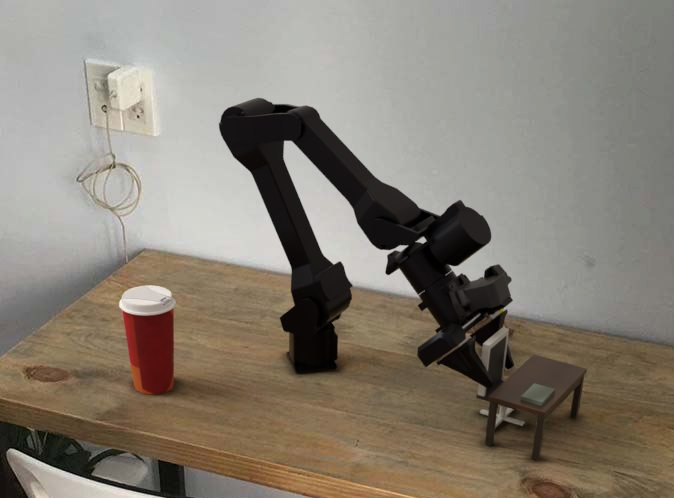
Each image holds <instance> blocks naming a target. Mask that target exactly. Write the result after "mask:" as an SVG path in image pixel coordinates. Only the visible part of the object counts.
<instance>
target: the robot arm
mask: <svg viewBox="0 0 674 498" xmlns="http://www.w3.org/2000/svg"><path fill="white" fill-rule="evenodd" d="M218 129H219V133H220V136H221V138H222V140H223V141H224V144H225V145H226V147H227V148H228V150H229V152H230V153H231V155H232V157H233V158H234V159H235V160H236V161H237V162H238V163H240V164H241V166H243V167H244V168H245V170H247V171H249V173H250V175H251V176H252V178H253V180H254V183H255V185H256V187H257V190H258V192H259V194H260V197H261V199H262V202H263V205H264V207H265V209H266V211H267V214H268V216H269V219H270V221H271V223H272V226H273V228H274V230H275V233H276V234H277V237H278V240H279V242H280V244H281V246H282V249H283V252H284V254H285V256H286V259H287V261H288V263H289V266H290V269H291V274H290V276H291V277H290V294H291V297H292V301H293V305H294V306H292V307H291V308H289V309H288V310H287V311H286V312H285V313H284V314H282V315H281V316H279V320H280V324H281V327H282V330H283V332H286V333H288V351H286V353H285V356H286V358H287V360H288V361H289V363H290V365H291V368H292V369H293V372H294V373H296V374H302V373H303V374H304V373H313V372H314V373H315V372H321V371H323V372H324V371H331V370H332V371H333V370H337V369H338V364H337V362H336V361H337V360H338V357H339V356H338V355H339V354H338V353H339V349H338V346H339V335H338V334H337V332H336V329H335V328H336V326H335V325H334V323H335V321H338V320H340V318H341V316H342V315H343V313H344V312H345V311H347V310H348V308H349V307H350V305H351V301H352V299H353V293H352V290H351V288H353V284H352V282H351V281H350V280H349V278H348V276H347V273H346V270H345V265H344V264H343V263H342V261H337V262H336V263H333V262H332V261H331V260H329V259H328V258H327V257H326V256H325V255H324V254H323V252H322V248H321V246H320V244H319V242H318V239H317V237H316V234H315V232H314V229H313V227H312V225H311V223H310V220H309V218H308V216H307V213H306V211H305V208H304V206H303V203H302V201H301V198H300V196H299V194H298V191H297V189H296V187H295V183H294V181H293V179H292V176H291V174H290V172H289V168H288V167H287V164H286V162H285V159H284V157H285V156H284V155H285V154H284V153H285V152H284V150H285V142H292V143H293V144H294V145H295V146H296V147H297V148H298V149H299V151H301V153H302V154H303V155H304V156H305V157H306V158H307V159H308V160H309V161H310V162H311V163H312V165H313V166H314V167H315V168H316V169H317V170H318V171H319V172H320V173H321V174H322V175H323V176H324V178H325V179H327V181H328V182H330V183H331V185H332V186H333V187H334V188H335V189H336V190H337V191H338V192H339V194H341V196H342V197H343V198H344V199H346V201H347V202H348V204H349V205H350V206H351V208H352V210H353V213H354V217H355V220H356V223H357V225H358V227H359V228H360V230H361V231H362V233H363V234H364V235H365V237H366V238H367V239H368V241H369V242H370V244H371V245H372V246H374V247H375V248H376V249H377V250H380V251H383V250H384V251H391V250H393V251H391V252H389V253H387V255H386V259H387V262H386V266H385V271H384V273H385V275H386V276H390V275H392V274H393V273H395V272H396V271H398V270H400V271H401V273H402V275H403V276H404V277H405V279H406V280H407V282H408V284H410V286H411V287H412V289H413V290H414V292H415V294H416V295H417V296H418V297H419V299H420V300H421V302H420V303H419V304H417V308H418V309H419V310H420V311H421V312H423V311H424V310H426V309H427V310H428V311H429V313H430V314H431V316H432V317H433V319H434V320H435V322H436V323H437V324H438V327H436V329H434V331H435V334H434V335H432V336H431V337H429V338H428V339H427V340H425V341H424V342H423V343H422V344H420V345H418V346H417V354H416V355H417V358H418V360H419V361H420V362H421V363H422V365H423V367H424V368H427V367H429V366H430V365H432V364H433V363H434V362H435V363H436V365H437V366H440V365H442V366H444V367H446V368H449V369H451V370H453V371H454V372H457V373H459V374H461V375H462V376H465V377H467V378H468V379H470V380H471V381H473V382H476V383H477V384H478V385H479V384H481V385H482V386H484V387H486V388H490V387H491V386H493V384H494V383H493V381H492V379H491V377H490V375H489V373H488V371H487V370H486V368H485V366H484V364H483V363H482V361H481V357H480V356H479V354H478V353H477V351H476V343H477V344H478V345H479V346H480V347H481V348H483V343H484V342H486V341H487V340H488V339H489V338H490V337H491V336H493V335H494V334H495V333H496V332H497V331H499V330H500V329H501V328H502V327H503V325H504V326H505V320H506V316H507V314H508V310H509V309H508V308H507V309H505V308H506V307H507V306H508V305H510V304H511V303H512V302H513V301H514V300H513V298H512V293H511V290H510V288H509V284H510V283H512V277H511V276H509V275H508V273H507V271H506V270H504V268H503V267H502V266H501V264H499V263H497V264H493V265H490V266H488V267H487V268H486V269H484V273H483V276H481V277H479V278H477V279H475V280H470V279H469V277H468V276H467V275H466V274H464V273H463V272H461V273H460V274H458V275H456V273H455V272H454V270H453V269H452V267H459V266H460V265H462V264H463V263H464V262H465V261H467V260H468V259H469V258H471V257H472V256H474V255H475V254H477V252H479V251H480V250H482V249H483V248H484V247H486V246H487V245H489V243H490V242H491V241H492V230H491V227H490V225H489V223H488V221H487V219H486V218H485V217H484V215H483V214H480V213H479V212H478V211H477V210H475V209H474V208H472V207H469V206H466V205H465V203H464V202H463V201H462V200H461V199H458V200H457V201H455V202H453V203H452V204H451V205H449V206H448V207H447V208H446V209H445V211H444V212H443V213H442V214H440V215H439V214H437V213H434V212H432V211H429V210H426V209H424V208H420V206H419V205H418V204H417V203H416V202H415V201H414V200H412V199H411V197H409V196H407V195H406V194H405V193H404V192H402V191H401V190H399V189H398V188H397V187H394V186H393V185H390V184H387V183H385V182H383V181H382V180H380V179H379V178H378V177H376V176H375V175H374V174H373V173H372V172H371V171H370V170H369V169H368V168H367V166H365V165H364V163H363V162H362V161H361V160H360V159H359V158H358V157H357V155H355V153H354V152H353V151H351V150H350V149H349V147H348V146H347V145H346V144H345V143H344V141H342V140H341V139H340V137H338V136H337V134H336V133H335V132H334V131H333V130H332V129H331V127H329V125H327V124H326V123H325V121H324V120H323V119H322V118H321V115H320V113H319V112H318V110H317V109H316V108H314V107H313V106H309V105H307V104H306V105H301V106H300V105H293V104H290V103H273V102H271V101H269V100H267V99H265V98H262V97H255V98H252V99H248V100H246V101H243V102H240V103H237V104H235V105H232V106H229V107H227V108H226V109H225V110H224V111H223V112H222V114H221V115H220V121H219V123H218ZM423 238H424V239H425V241H424V242H423V243H422V242H420V241H419V240H421V239H423ZM401 246H404V248H403V249H402V250H401V251H400V250H395V249H396V248H398V247H401ZM405 246H406V247H405ZM503 308H504V309H505V310H504V309H503ZM500 309H503V312H502V313H499V312H498V311H499V310H500ZM471 329H473V330H474V331H473V332H472V333H471V334H469V337H470V338H469V337H467V333H468V332H469V331H470V330H471ZM514 366H515V363H514V360H513V356H512V353H511V350H510V347H509V343H507V352H506V361H505V369H506V370H510V369H513V367H514Z"/></svg>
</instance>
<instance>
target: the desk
mask: <svg viewBox="0 0 674 498" xmlns="http://www.w3.org/2000/svg"><path fill="white" fill-rule="evenodd" d="M587 372H588V368H586V367H582V366H579V365H575V364H571V363H567V362H564V361H561V360H557V359H553V358H550V357H546V356H542V355H539V354H535V353H533V354H532V355H531V356H530V357H529V358H528V359H527V360H525V361H524V362H523V363H522V364H521V365H520V366H519V367H518V368H517V369H516V370H515V371H514V372H513V373H512V374H510V375H509V376H508V378H506V379H505V380H504V382H503V383H502V384H501V385H500V386H499V387H498V388H497V389H496V390H495V391H493V392H492V393H491V394H490V395H489V398H488V401H490V402H488V401H487V402H488V403H489V405H488V411H489V412H488V416H487V423H486V431H485V438H484V439H485V441H484V445H485V446H488V447H492V446H493V445H494V441H495V434H496V433H495V432H496V428H495V424H496V419H497V418H496V416H497V414H498V404H502V405H505V406H509V407H512V408H515V409H517V410H518V411H522V412H524V413H525V412H526V413H529V414H532V415H536V423H535V429H534V437H533V444H532V450H531V460H532V461H535V462H538V461H539V460H540V458H541V452H542V444H543V438H544V431H545V426H546V425H545V424H546V420H547V419H549V417H550V416H551V415H552V414H553V413H554V412H555V411H556V410H557V409H558V408H559V407H560V406H561V404H562V403H564V401H565V400H566V399H567V398H568V397H569V396H570V395H571V394H572V393H573V395H572V401H571V408H570V413H569V417H570V418H572V419H577V418H578V417H579V412H580V407H581V401H582V395H583V386H584V381H585V376H586V374H587ZM515 409H514V410H515Z"/></svg>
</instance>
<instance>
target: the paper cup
mask: <svg viewBox="0 0 674 498" xmlns="http://www.w3.org/2000/svg"><path fill="white" fill-rule="evenodd" d="M176 304H177V302H176V298H174V297H173V293H172V292H171V290H170V289H168V288H166V287H164V286H159V285H151V284H150V285H140V286H134V287H132V288H129V289H127V290H125V291H124V292H123V294H122V295H121V299H120V300H119V303H118V306H119V309H120V310H121V311H122V317H123V324H124V331H125V337H126V344H127V350H128V351H127V352H128V356H129V363H130V369H131V376H132V380H133V385H134V389H135V391H137V392H138V393H140V394H144V395H161V394H165V393H167V392H169V391H170V390H172V389H173V387H174V382H175V381H174V380H175V379H174V378H175V335H174V334H175V330H174V329H175V323H174V322H175V321H174V319H175V316H174V315H175V314H174V313H175V310H174V308H175V307H176Z"/></svg>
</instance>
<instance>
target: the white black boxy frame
mask: <svg viewBox="0 0 674 498" xmlns="http://www.w3.org/2000/svg"><path fill="white" fill-rule="evenodd" d="M509 332H510V328H508V327H506V326H505V327H502V328H501V329H500V330H499V331H497V332H496V333H495V334H494V335H493V336H491V337H490V338H489V339H488V340H487V341H486V342H484V343H483V348H482V347H481V348H482V349H481V356H480V359H481V361H482V363H483V364H484V366H485V368H486V370H487V371H488V373H489V375H490V377H491V379H492V381H493V383H494V384H493V386H491V387H490V388H486V387H484V386H482V385H481V384H479V383H478V386H477V393H476V396H475V397H476V399H478V400H481V401H484V402H488V403H490V401H488V398H489V395H490V394H491V393H492V392H493V391H495V390H496V389H497V388H498V387H499V386H500V385H501V384H502V383H503V382H504V381H505V380H504V376H505V369H506V368H505V361H506V352H507V343H508V342H509ZM508 344H509V343H508ZM498 405H499V412H498V413H497V416H496V424H495V429H496V428H497V427H498V426H500V424H501V423H502V422H503V421H504V422H507V423H510V424H514V425H517V426H520V427H521V428H526V426H527V424H526V422H525V421H523V420H520V419H517V418H513V417H510V416H509V415H510V414H511V413H513V412H514V410H515V411H517V410H518V409H515V408H512V407H509V406H505V405H502V404H498ZM488 412H489V410H487V409H483V408H481V409H479V410H478V411H477V413H478V415H484V416H487V417H488Z"/></svg>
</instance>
